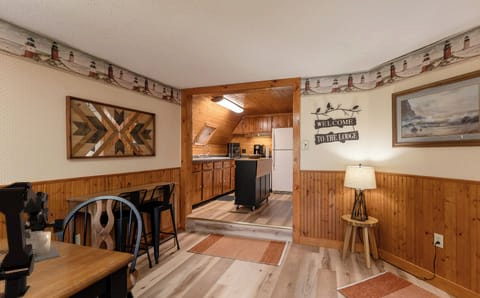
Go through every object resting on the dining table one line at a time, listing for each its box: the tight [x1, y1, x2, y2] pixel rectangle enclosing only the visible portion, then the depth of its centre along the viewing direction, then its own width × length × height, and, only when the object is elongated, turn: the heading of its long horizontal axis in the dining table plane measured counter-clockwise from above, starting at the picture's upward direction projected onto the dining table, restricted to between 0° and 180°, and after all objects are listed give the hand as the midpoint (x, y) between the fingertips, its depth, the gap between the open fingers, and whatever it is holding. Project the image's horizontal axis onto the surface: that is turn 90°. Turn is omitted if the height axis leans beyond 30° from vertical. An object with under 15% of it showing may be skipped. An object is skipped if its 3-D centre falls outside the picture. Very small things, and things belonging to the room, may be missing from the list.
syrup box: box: [25, 221, 44, 250], centre depth 123 cm, size 6×6×14 cm
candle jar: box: [34, 231, 52, 256], centre depth 115 cm, size 6×6×10 cm
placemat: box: [33, 245, 61, 263], centre depth 115 cm, size 16×11×1 cm
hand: (42, 236), depth 113 cm, fingers open, 9 cm apart
